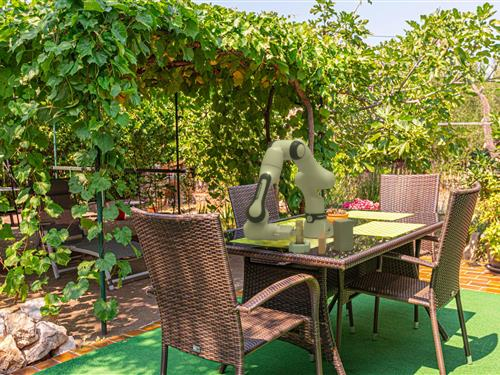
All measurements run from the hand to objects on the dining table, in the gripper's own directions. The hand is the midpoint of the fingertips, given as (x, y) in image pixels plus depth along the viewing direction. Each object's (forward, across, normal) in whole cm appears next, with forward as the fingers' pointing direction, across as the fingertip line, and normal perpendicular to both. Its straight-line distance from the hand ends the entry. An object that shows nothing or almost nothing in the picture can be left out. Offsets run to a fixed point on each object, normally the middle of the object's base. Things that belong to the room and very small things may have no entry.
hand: (301, 232), depth 259 cm
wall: (+11, 0, +10) cm, 14 cm away
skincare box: (+21, +2, +10) cm, 23 cm away
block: (-1, 0, +9) cm, 9 cm away
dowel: (-1, 0, +8) cm, 8 cm away
